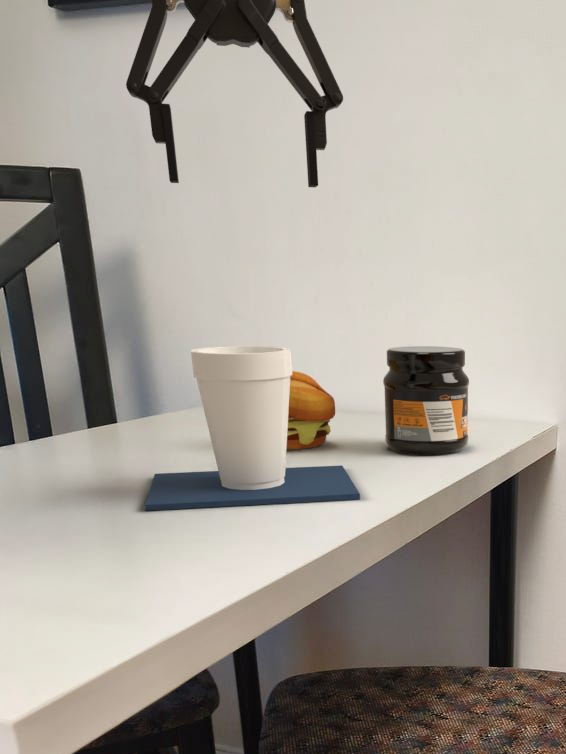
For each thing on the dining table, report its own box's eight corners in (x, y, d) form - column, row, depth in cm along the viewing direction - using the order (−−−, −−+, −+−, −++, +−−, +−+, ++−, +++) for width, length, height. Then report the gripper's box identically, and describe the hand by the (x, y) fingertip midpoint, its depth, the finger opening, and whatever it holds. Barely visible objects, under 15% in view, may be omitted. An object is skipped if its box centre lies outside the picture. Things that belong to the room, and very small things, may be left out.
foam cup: (228, 471, 96) (215, 345, 91) (311, 474, 95) (302, 346, 90) (190, 491, 87) (173, 353, 82) (280, 495, 86) (269, 355, 81)
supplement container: (449, 459, 106) (449, 354, 102) (370, 452, 110) (367, 350, 105) (480, 444, 116) (481, 347, 111) (406, 438, 119) (404, 344, 114)
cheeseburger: (290, 433, 121) (298, 360, 116) (347, 461, 117) (358, 386, 112) (231, 442, 113) (238, 364, 108) (290, 473, 109) (299, 393, 104)
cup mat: (145, 511, 83) (144, 504, 82) (155, 479, 95) (154, 473, 95) (360, 499, 87) (359, 493, 87) (342, 470, 100) (342, 465, 100)
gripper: (70, -106, 75) (108, 176, 83) (365, -76, 81) (373, 185, 89) (83, -76, 82) (117, 183, 90) (354, -50, 88) (363, 190, 96)
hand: (245, 184), depth 90 cm, fingers open, 13 cm apart
